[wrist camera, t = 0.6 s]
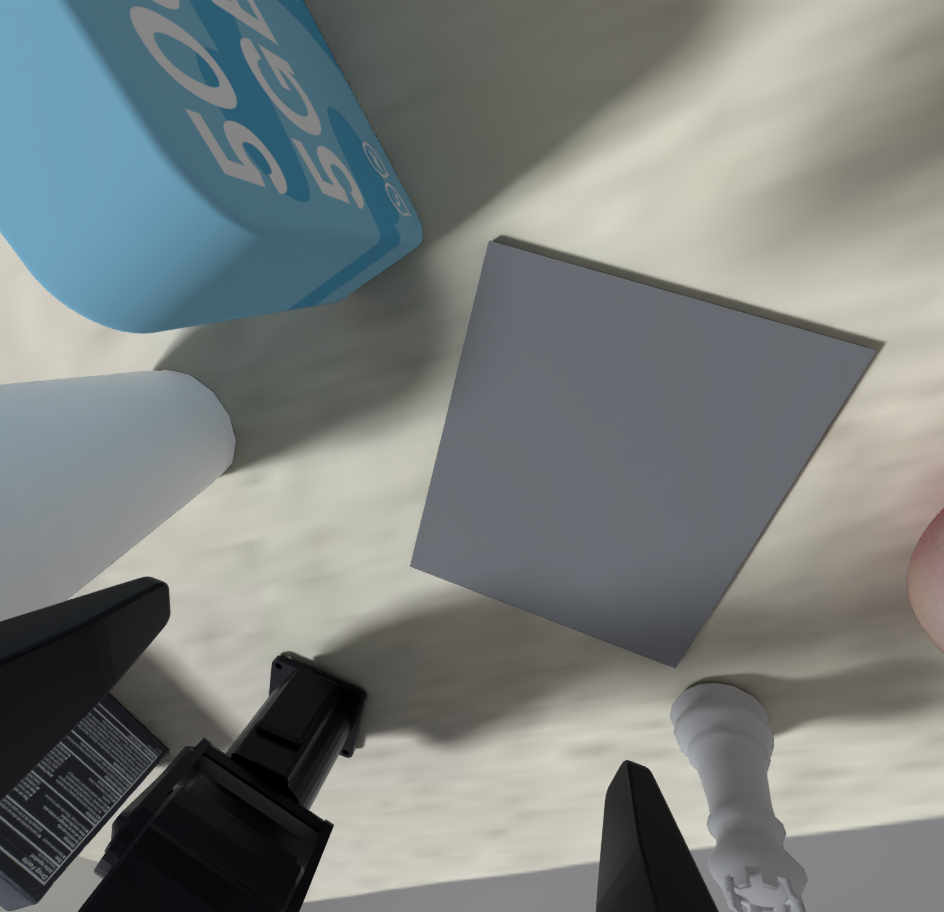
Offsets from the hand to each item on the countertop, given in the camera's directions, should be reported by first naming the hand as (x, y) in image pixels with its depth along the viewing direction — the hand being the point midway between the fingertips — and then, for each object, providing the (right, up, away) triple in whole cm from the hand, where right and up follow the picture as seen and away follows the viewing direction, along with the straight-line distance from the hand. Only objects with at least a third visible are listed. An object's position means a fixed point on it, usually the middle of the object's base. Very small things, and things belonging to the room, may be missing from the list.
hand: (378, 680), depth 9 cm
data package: (-4, +17, +10) cm, 20 cm away
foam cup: (-14, +6, +17) cm, 23 cm away
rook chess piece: (+14, -9, +15) cm, 23 cm away
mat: (+7, +3, +12) cm, 14 cm away
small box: (-29, -18, +31) cm, 46 cm away
